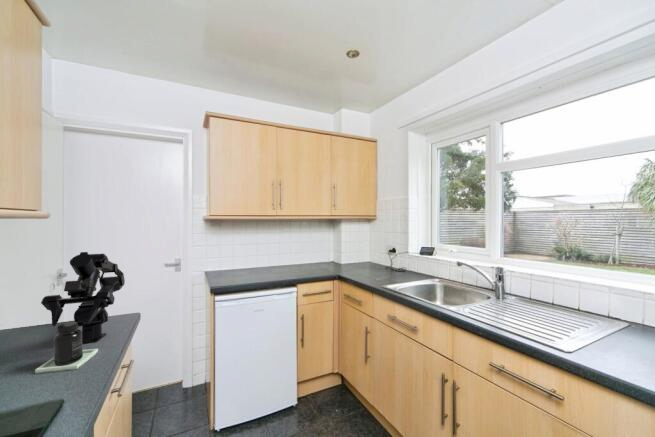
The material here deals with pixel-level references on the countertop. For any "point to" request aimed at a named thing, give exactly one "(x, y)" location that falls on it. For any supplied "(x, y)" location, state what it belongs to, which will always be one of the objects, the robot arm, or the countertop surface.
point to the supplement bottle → (68, 344)
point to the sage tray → (51, 366)
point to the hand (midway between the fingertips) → (71, 323)
